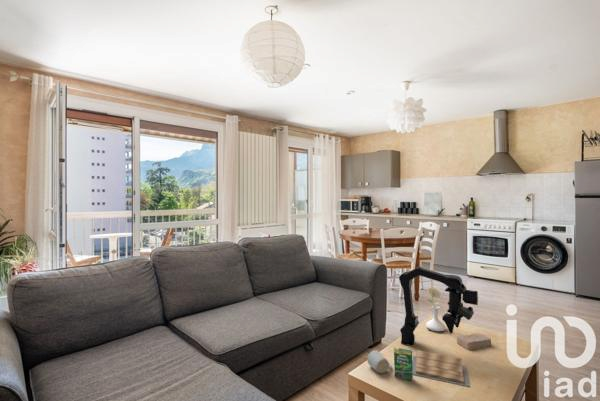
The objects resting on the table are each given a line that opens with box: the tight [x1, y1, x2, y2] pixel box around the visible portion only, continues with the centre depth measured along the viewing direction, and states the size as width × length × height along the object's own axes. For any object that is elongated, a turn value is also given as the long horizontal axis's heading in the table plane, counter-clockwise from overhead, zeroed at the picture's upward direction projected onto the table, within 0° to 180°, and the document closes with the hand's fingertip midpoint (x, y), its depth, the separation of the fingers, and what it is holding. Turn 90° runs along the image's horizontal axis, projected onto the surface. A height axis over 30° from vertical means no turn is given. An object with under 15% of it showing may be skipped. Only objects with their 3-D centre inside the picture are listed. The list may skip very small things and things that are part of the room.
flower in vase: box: [425, 286, 447, 332], centre depth 192 cm, size 13×11×25 cm
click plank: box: [416, 349, 463, 372], centre depth 150 cm, size 20×7×1 cm, turn 66°
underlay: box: [412, 355, 470, 387], centre depth 148 cm, size 24×17×1 cm
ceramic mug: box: [366, 350, 393, 375], centre depth 149 cm, size 11×8×8 cm
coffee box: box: [393, 346, 414, 382], centre depth 142 cm, size 8×3×13 cm, turn 61°
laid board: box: [416, 363, 464, 384], centre depth 144 cm, size 20×7×1 cm, turn 66°
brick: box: [456, 332, 492, 351], centre depth 172 cm, size 17×8×5 cm, turn 106°
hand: (454, 330), depth 161 cm, fingers open, 9 cm apart
